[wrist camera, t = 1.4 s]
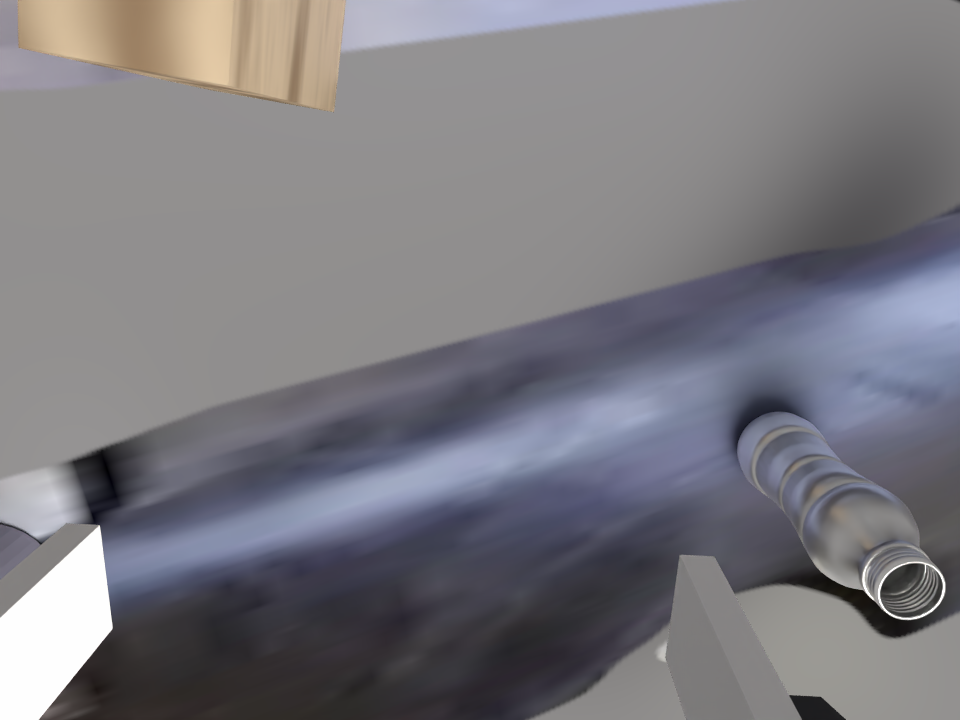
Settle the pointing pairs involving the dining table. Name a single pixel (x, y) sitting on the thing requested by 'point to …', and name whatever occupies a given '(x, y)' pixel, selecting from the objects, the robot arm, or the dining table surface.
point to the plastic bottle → (841, 515)
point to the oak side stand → (200, 42)
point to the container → (14, 548)
